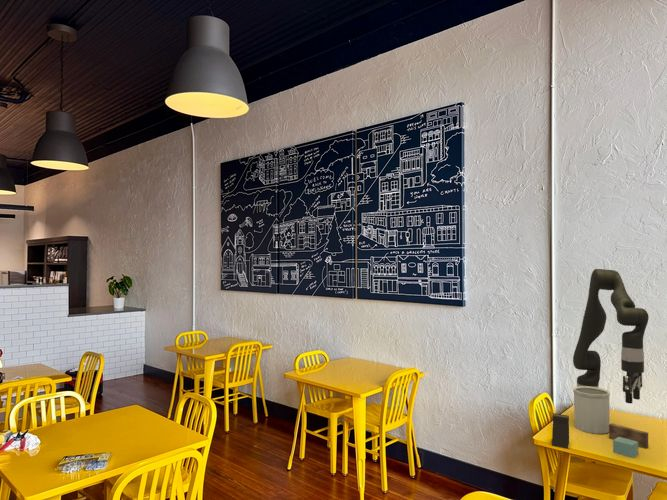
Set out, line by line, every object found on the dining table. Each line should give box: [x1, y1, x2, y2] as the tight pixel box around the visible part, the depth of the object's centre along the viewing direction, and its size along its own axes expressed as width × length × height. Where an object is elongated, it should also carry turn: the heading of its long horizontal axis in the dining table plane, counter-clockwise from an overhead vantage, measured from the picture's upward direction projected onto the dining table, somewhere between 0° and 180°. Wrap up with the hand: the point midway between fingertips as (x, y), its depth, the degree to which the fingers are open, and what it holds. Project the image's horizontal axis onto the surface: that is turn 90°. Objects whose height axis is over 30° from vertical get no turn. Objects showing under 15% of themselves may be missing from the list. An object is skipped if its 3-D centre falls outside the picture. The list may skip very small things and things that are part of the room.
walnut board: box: [608, 423, 649, 450], centre depth 199 cm, size 14×2×6 cm, turn 39°
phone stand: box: [551, 412, 570, 449], centre depth 197 cm, size 9×6×12 cm, turn 150°
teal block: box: [612, 437, 639, 459], centre depth 188 cm, size 7×6×5 cm
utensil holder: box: [572, 386, 611, 435], centre depth 216 cm, size 15×15×18 cm
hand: (632, 401), depth 184 cm, fingers open, 8 cm apart
